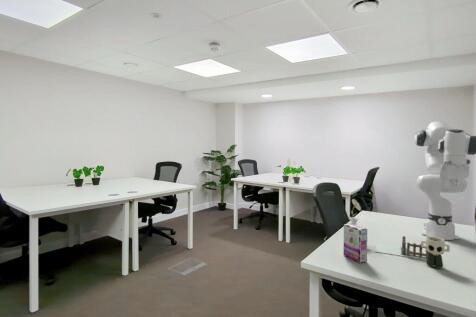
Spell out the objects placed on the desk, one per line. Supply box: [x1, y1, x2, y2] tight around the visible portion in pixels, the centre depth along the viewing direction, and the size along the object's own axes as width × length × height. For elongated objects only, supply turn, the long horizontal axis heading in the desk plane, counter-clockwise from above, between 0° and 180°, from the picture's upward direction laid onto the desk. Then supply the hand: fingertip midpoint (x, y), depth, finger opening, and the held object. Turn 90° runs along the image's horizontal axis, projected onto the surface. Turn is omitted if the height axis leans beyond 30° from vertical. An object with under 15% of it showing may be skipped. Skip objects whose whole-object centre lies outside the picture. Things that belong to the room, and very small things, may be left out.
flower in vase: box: [342, 198, 362, 239], centre depth 161 cm, size 13×11×25 cm
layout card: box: [375, 242, 427, 261], centre depth 145 cm, size 15×25×1 cm, turn 62°
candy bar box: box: [343, 223, 368, 264], centre depth 135 cm, size 11×5×16 cm, turn 21°
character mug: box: [420, 236, 451, 269], centre depth 126 cm, size 11×7×13 cm, turn 57°
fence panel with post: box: [401, 240, 429, 258], centre depth 138 cm, size 2×12×7 cm, turn 62°
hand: (453, 187), depth 140 cm, fingers closed
